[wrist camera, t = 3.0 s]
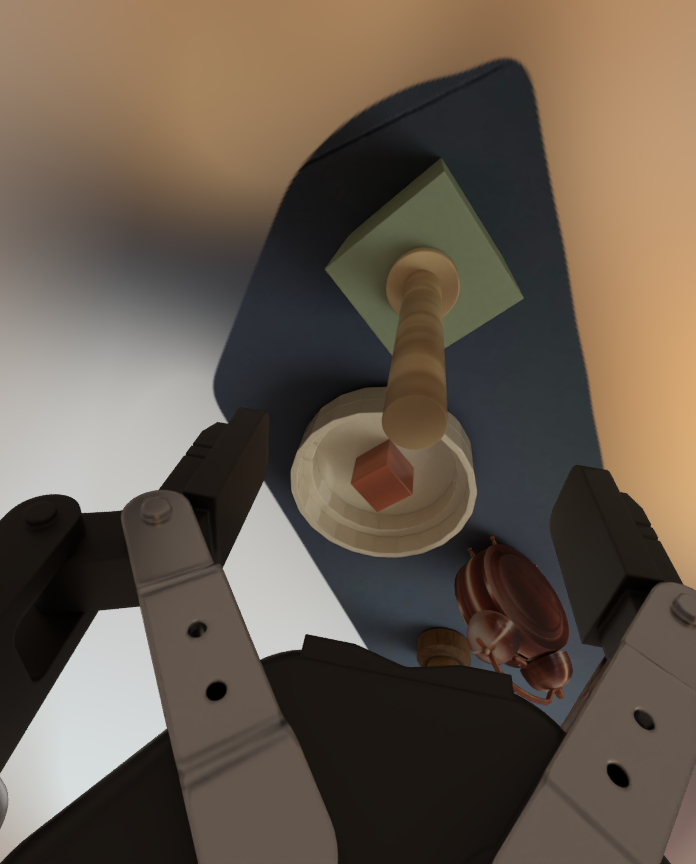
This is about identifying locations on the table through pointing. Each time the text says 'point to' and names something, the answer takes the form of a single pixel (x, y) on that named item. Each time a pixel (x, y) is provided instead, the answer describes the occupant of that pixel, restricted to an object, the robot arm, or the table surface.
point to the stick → (419, 347)
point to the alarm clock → (515, 619)
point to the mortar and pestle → (442, 648)
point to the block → (383, 476)
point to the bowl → (349, 512)
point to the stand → (425, 227)
